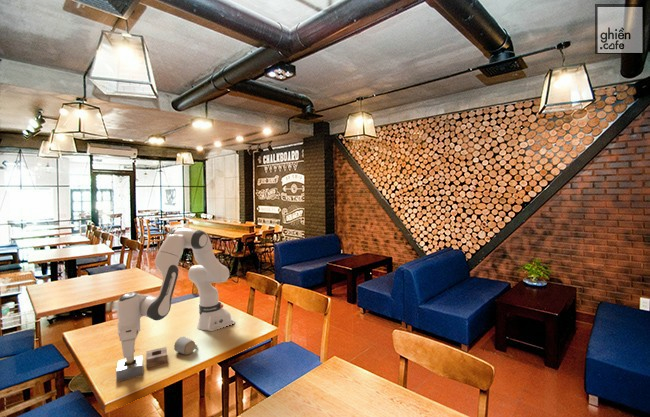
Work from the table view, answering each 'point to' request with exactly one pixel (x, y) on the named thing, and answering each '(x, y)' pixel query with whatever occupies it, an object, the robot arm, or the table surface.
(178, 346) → the ceramic mug
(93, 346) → the table surface
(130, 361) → the pin
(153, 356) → the mount
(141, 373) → the socket
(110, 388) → the table surface
